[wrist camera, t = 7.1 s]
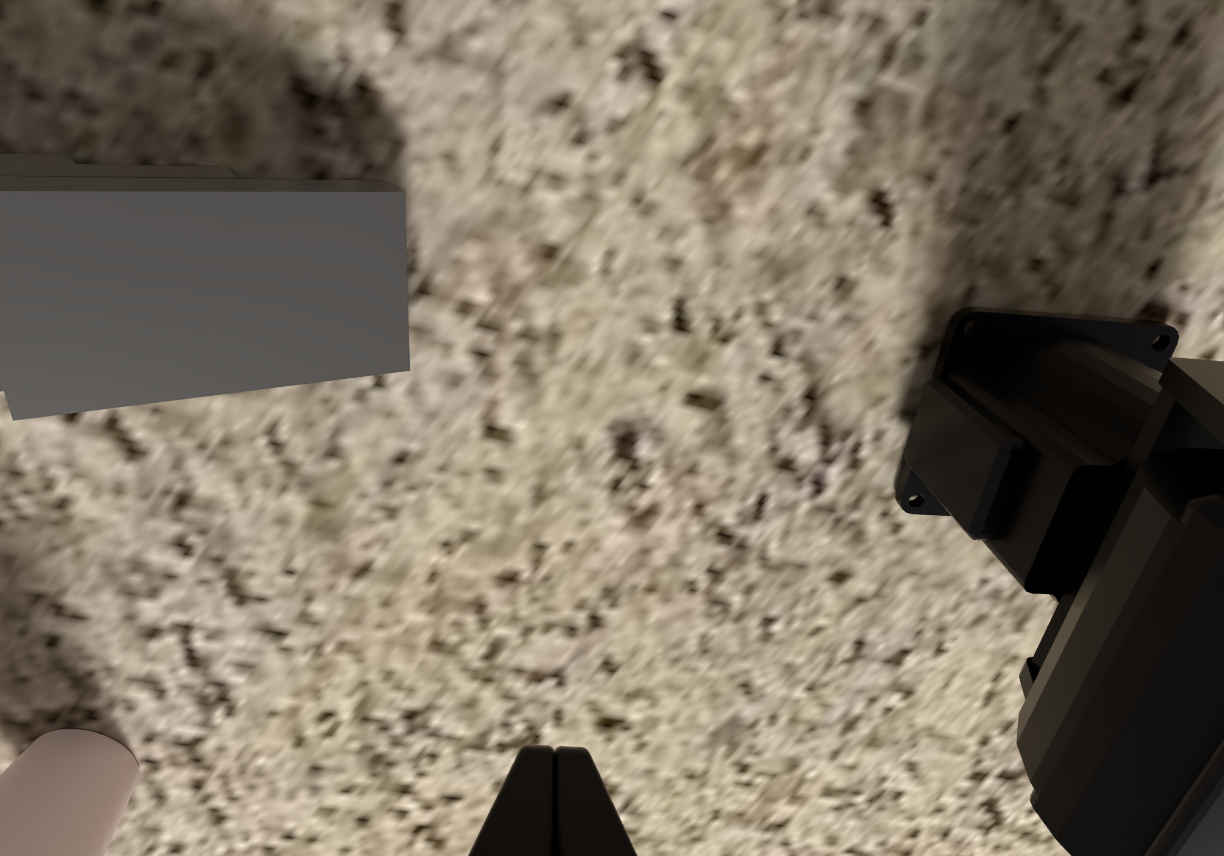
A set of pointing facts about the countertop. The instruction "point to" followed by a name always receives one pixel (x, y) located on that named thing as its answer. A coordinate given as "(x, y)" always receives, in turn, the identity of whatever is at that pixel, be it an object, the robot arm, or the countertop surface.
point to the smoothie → (65, 795)
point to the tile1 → (195, 287)
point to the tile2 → (113, 173)
